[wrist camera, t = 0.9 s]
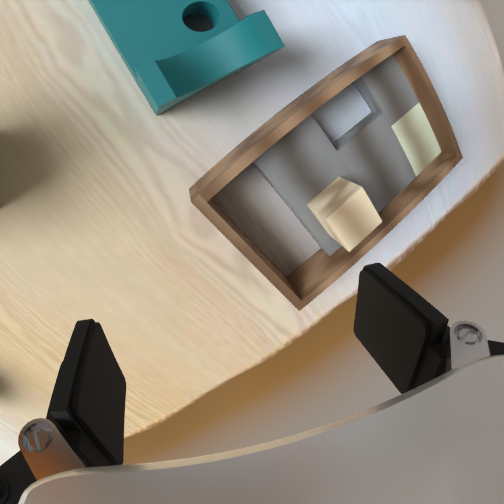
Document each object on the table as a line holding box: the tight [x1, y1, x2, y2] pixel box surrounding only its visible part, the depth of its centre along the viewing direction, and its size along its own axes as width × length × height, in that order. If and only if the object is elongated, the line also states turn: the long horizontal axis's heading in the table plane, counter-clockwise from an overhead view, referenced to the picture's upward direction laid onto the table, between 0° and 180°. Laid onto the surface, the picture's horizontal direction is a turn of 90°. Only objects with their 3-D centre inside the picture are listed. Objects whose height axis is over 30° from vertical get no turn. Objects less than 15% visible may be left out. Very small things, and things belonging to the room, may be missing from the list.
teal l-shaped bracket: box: [89, 0, 285, 116], centre depth 20 cm, size 18×11×10 cm, turn 28°
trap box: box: [189, 35, 463, 311], centre depth 33 cm, size 30×18×6 cm, turn 130°
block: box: [307, 177, 382, 252], centre depth 33 cm, size 5×5×5 cm
